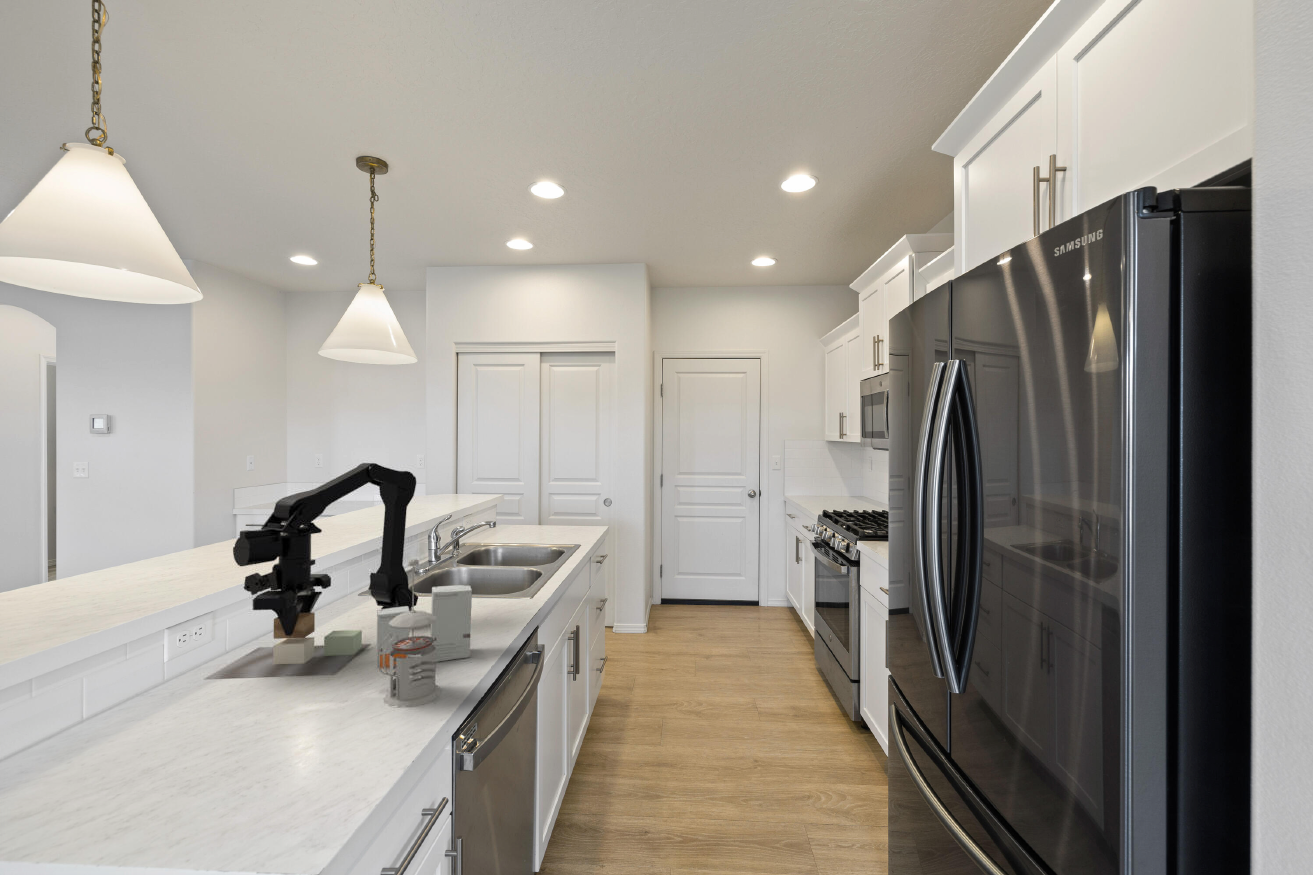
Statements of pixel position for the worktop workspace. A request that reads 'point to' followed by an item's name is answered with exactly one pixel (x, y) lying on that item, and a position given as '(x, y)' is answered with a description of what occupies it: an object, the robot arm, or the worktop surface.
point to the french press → (411, 660)
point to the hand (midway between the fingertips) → (294, 631)
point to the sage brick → (342, 642)
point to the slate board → (283, 665)
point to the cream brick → (293, 650)
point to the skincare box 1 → (384, 629)
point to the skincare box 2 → (451, 621)
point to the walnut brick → (296, 627)
